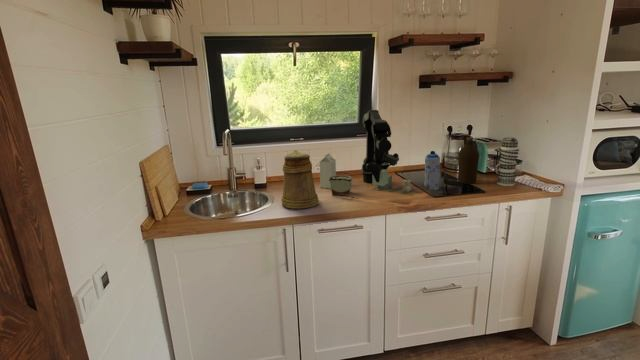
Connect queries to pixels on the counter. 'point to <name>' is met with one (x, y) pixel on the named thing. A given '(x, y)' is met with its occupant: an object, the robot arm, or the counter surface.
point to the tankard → (298, 182)
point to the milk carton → (327, 170)
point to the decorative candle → (507, 161)
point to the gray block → (388, 185)
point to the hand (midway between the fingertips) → (380, 180)
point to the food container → (340, 185)
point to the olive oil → (468, 163)
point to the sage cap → (381, 178)
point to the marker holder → (400, 189)
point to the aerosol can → (432, 171)
